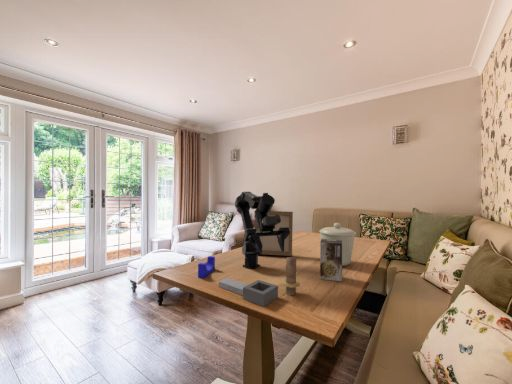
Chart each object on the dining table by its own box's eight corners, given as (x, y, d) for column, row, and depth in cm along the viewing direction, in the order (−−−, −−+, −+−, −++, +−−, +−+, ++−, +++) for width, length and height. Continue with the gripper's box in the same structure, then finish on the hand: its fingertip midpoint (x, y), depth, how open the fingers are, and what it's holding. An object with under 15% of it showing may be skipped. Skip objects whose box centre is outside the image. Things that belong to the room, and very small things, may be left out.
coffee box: (341, 276, 106) (342, 240, 106) (342, 282, 100) (342, 243, 100) (320, 274, 109) (321, 238, 109) (319, 279, 103) (320, 241, 103)
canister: (320, 267, 118) (320, 224, 117) (317, 257, 136) (318, 219, 135) (359, 270, 115) (360, 226, 114) (351, 259, 132) (352, 220, 132)
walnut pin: (287, 288, 93) (288, 254, 93) (302, 292, 89) (303, 257, 89) (278, 293, 88) (279, 258, 88) (294, 299, 84) (295, 262, 84)
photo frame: (291, 257, 134) (292, 212, 134) (253, 255, 137) (253, 211, 137) (292, 251, 148) (292, 210, 148) (257, 249, 152) (257, 209, 152)
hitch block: (230, 281, 99) (231, 271, 99) (277, 297, 86) (278, 285, 85) (215, 288, 92) (215, 277, 92) (263, 306, 79) (263, 294, 78)
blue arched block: (205, 268, 115) (205, 256, 115) (214, 269, 114) (214, 256, 114) (194, 277, 103) (194, 263, 103) (204, 278, 102) (204, 264, 102)
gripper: (246, 208, 95) (254, 243, 85) (289, 207, 101) (301, 240, 91) (240, 224, 103) (247, 258, 93) (280, 223, 109) (291, 254, 99)
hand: (272, 252), depth 94 cm, fingers open, 9 cm apart
